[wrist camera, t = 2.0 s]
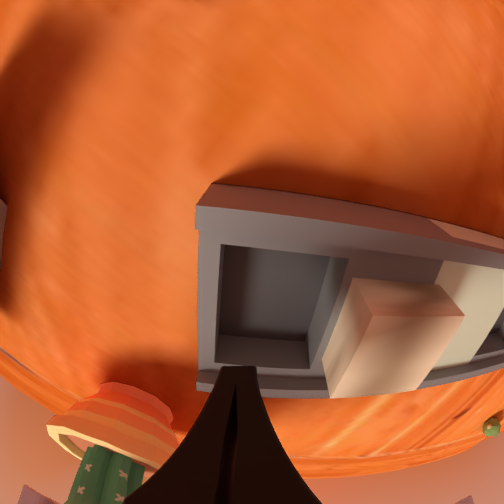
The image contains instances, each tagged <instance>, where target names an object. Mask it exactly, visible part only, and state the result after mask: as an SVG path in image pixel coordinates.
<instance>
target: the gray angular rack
mask: <svg viewBox="0 0 504 504" xmlns="http://www.w3.org/2000/svg"><path fill="white" fill-rule="evenodd" d="M7 209H8V206H7V205H6V204H5V203H4V202H3V201H2V200H1V199H0V267H1V253H2V243H3V234H4V227H5V220H6V214H7Z"/></svg>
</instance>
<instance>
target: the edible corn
mask: <svg viewBox="0 0 504 504" xmlns="http://www.w3.org/2000/svg"><path fill="white" fill-rule="evenodd" d="M500 427H501V425H500V423H499V421H498V420H497V419H496V418H490V419H489V420H487V421H486V422H485V423H484V425H483V433H485V435H486V436H487V437H488V436H497V435H498V434H499V433H500Z"/></svg>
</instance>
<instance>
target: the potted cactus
mask: <svg viewBox="0 0 504 504" xmlns="http://www.w3.org/2000/svg"><path fill="white" fill-rule="evenodd" d="M173 419H174V417H173V415H172V412H171V409H170V408H169V407H168V406H167V405H166V404H164V403H163V402H162V401H161V400H159V399H158V398H157V397H156V396H154V395H152V394H150V393H147V392H145V391H143V390H141V389H139V388H137V387H135V386H131V385H127V384H122V383H118V382H108V383H103V384H100V387H99V390H98V393H97V394H95V395H92V396H90V397H87V398H85V399H82V400H80V401H78V402H77V403H76V404H75V405H74V406H72V407H71V408H70V409H69V410H68V411H67V412H66V413H64V414H63V415H54V416H53V417H52V419H51V420H50V421H49V422H48V423H47V425H46V426H47V430H48V434H49V435H50V436H51V437H52V438H53V439H54V440H55V441H56V442H57V443H58V444H59V445H61V446H62V447H63V448H64V449H65V450H66V451H68V452H69V453H71V454H73V455H74V456H76V457H77V458H79V459H81V460H82V461H81V464H80V467H79V469H78V472H77V474H76V477H75V480H74V483H73V486H72V488H71V491H70V494H69V497H68V500H67V501H66V502H65V503H64V504H122V503H123V501H124V499H125V498H126V497H127V496H129V495H130V494H131V493H132V492H134V491H135V490H136V489H137V488H139V487H140V486H141V485H142V484H144V483H145V482H146V481H147V480H148V479H149V478H150V477H151V476H152V475H153V474H154V473H155V472H156V471H157V470H158V469H159V468H160V467H161V466H162V465H163V464H164V463H165V462H166V461H167V460H168V459H169V457H170V456H171V455H172V454H173V453H174V451H175V450H176V449H177V448H178V446H179V445H180V444H179V442H178V439H177V437H176V435H175V433H174V431H173V429H172V427H171V426H170V424H171V422H172V421H173Z"/></svg>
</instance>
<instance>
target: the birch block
mask: <svg viewBox="0 0 504 504" xmlns="http://www.w3.org/2000/svg"><path fill="white" fill-rule="evenodd" d="M464 318H465V315H464V313H463V312H462V311H461V310H460V308H459V307H458V306H457V305H456V304H455V302H454V301H453V300H452V299H451V298H450V296H449V295H448V294H447V293H446V292H445V290H444V289H443V288H442V287H441V286H440V285H435V284H422V283H410V282H398V281H387V280H376V279H365V278H354V277H353V279H352V282H351V285H350V288H349V290H348V293H347V296H346V299H345V302H344V305H343V307H342V310H341V313H340V315H339V318H338V321H337V323H336V326H335V328H334V331H333V333H332V336H331V338H330V341H329V343H328V346H327V348H326V350H325V353H324V355H323V358H322V363H323V368H324V372H325V377H326V382H327V386H328V391H329V396H330V398H349V397H363V396H374V395H383V394H391V393H399V392H406V391H412V390H416V389H417V388H418V386H419V385H420V384H421V382H422V381H423V380H424V379H425V377H426V376H427V375H428V373H429V372H430V371H431V369H432V368H433V366H434V365H435V364H436V362H437V361H438V359H439V358H440V356H441V355H442V353H443V352H444V350H445V349H446V347H447V346H448V344H449V343H450V341H451V339H452V338H453V336H454V335H455V333H456V331H457V330H458V328H459V326H460V325H461V323H462V321H463V319H464Z"/></svg>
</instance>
